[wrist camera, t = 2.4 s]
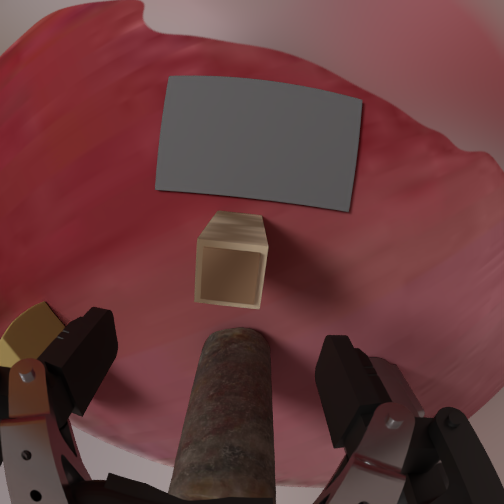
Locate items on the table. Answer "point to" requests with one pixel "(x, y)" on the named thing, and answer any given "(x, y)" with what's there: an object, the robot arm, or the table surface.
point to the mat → (258, 141)
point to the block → (231, 260)
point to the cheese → (29, 335)
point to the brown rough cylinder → (228, 422)
